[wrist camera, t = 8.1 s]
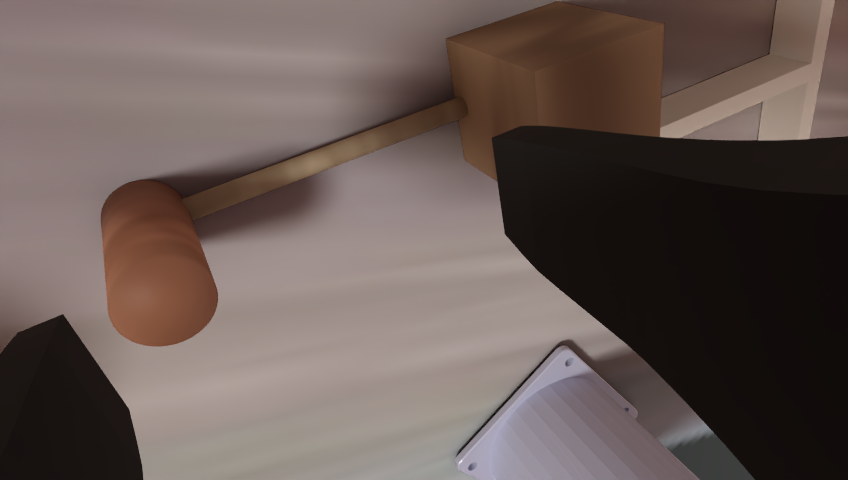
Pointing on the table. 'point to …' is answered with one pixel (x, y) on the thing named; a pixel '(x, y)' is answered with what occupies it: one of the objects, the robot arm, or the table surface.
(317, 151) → the tethered block
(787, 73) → the lane rack
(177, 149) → the table surface
